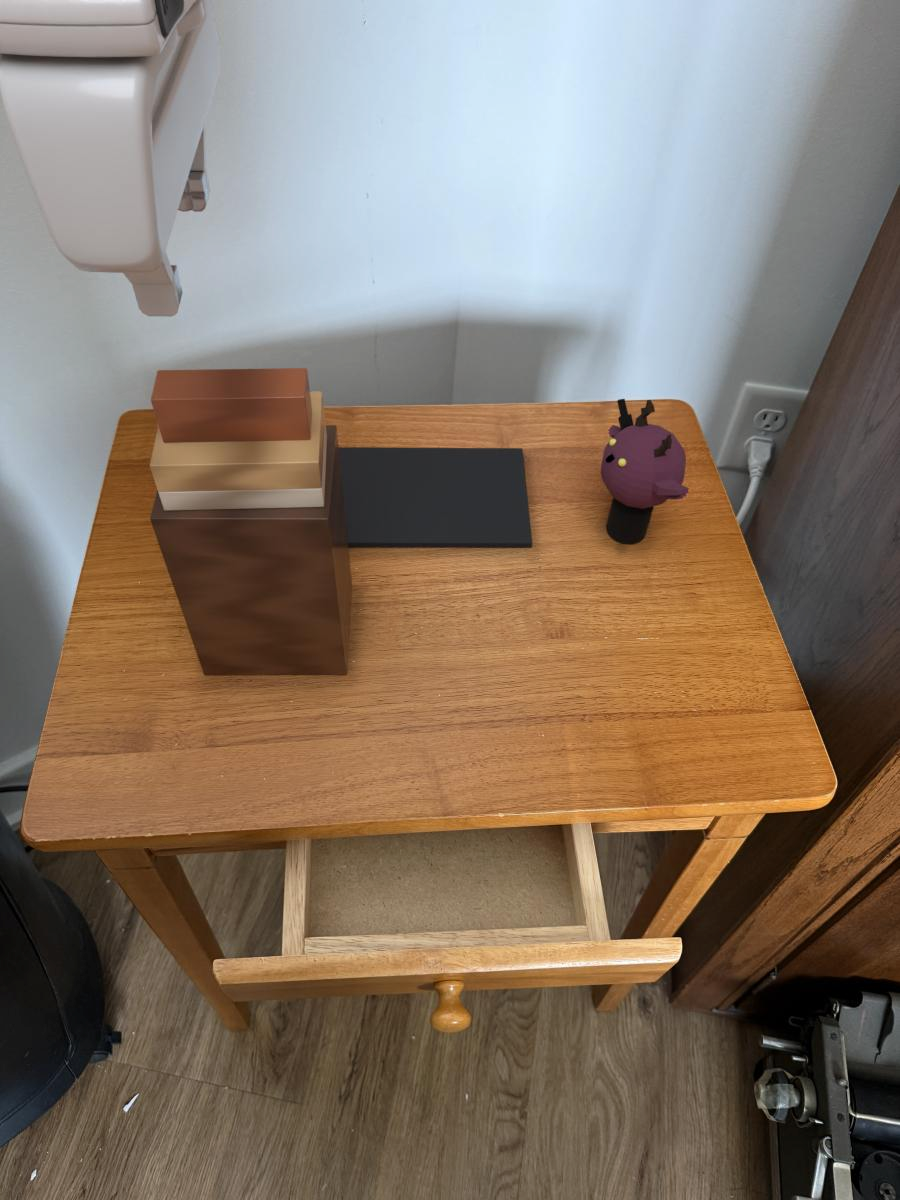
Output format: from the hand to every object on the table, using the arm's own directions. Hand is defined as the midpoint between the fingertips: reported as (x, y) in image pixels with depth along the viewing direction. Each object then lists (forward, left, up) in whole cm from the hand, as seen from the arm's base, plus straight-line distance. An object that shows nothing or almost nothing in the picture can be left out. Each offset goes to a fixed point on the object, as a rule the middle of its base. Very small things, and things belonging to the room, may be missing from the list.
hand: (179, 253), depth 45 cm
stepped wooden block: (+2, -3, -12) cm, 13 cm away
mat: (+11, +11, -28) cm, 32 cm away
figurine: (+29, +7, -28) cm, 41 cm away
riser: (+2, -3, -28) cm, 28 cm away
